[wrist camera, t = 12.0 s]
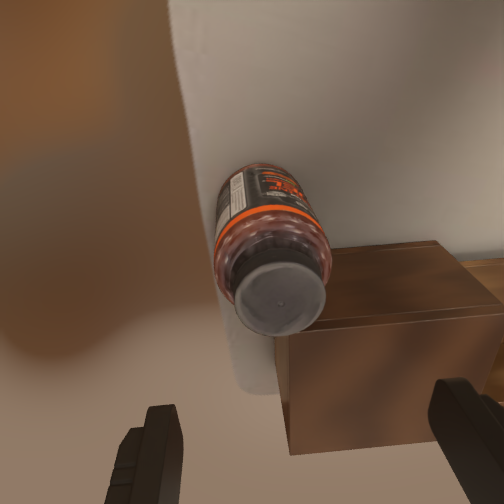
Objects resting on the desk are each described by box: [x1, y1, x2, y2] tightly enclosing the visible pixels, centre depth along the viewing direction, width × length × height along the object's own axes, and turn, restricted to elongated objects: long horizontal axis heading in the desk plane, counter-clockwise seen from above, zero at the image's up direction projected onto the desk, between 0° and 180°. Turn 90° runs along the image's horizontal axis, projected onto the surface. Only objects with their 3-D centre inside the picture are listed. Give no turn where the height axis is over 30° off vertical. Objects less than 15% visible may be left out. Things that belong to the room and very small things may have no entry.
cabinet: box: [274, 241, 504, 455], centre depth 27 cm, size 13×12×9 cm
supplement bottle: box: [214, 164, 332, 337], centre depth 20 cm, size 6×6×11 cm
